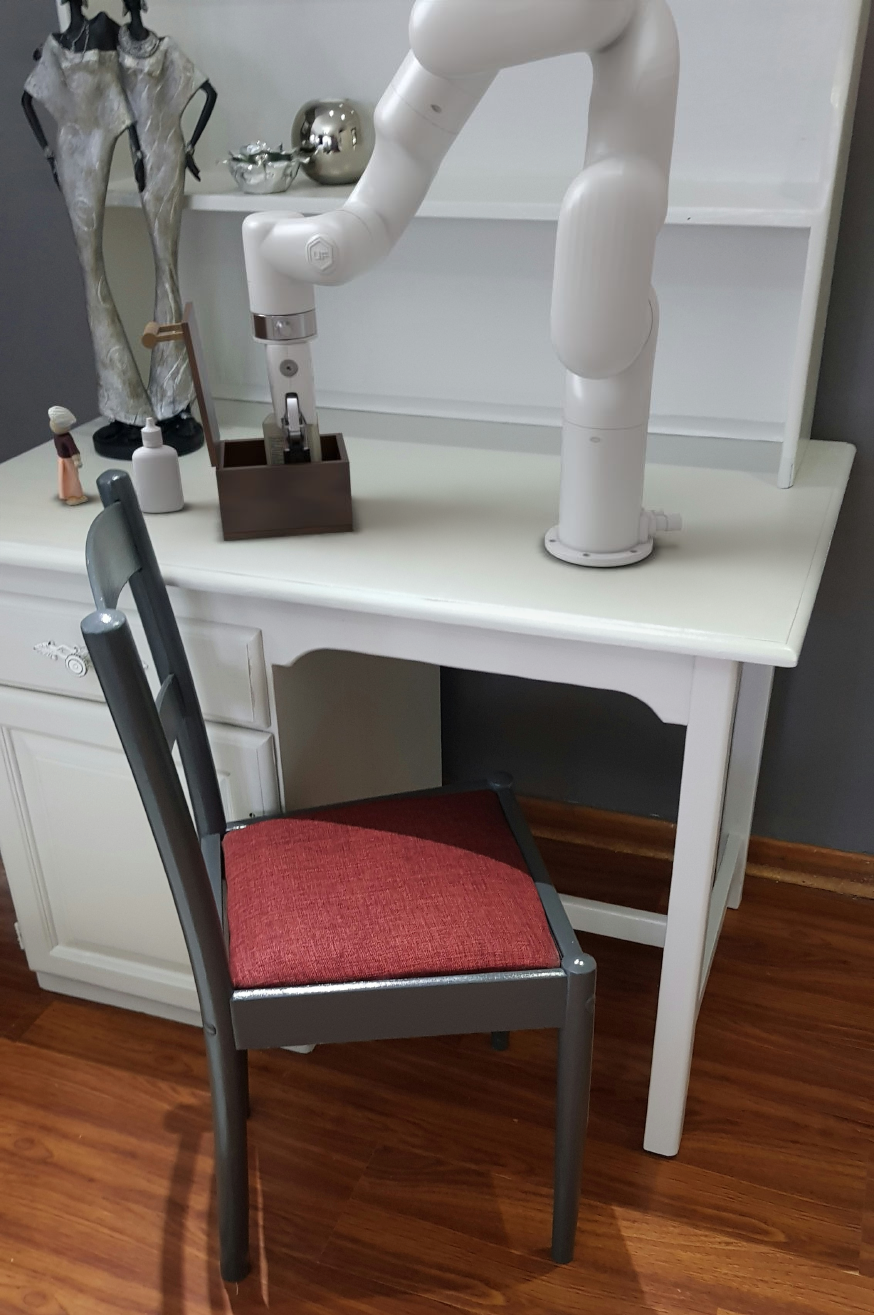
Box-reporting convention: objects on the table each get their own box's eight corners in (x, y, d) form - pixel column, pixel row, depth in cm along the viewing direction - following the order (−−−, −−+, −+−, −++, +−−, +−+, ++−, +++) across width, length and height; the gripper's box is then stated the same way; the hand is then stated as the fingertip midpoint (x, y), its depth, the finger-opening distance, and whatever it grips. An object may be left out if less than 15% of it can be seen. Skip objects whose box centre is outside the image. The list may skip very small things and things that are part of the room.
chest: (346, 498, 147) (342, 432, 143) (353, 531, 137) (349, 461, 133) (225, 506, 145) (217, 440, 141) (223, 540, 135) (215, 470, 131)
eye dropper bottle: (154, 500, 148) (141, 411, 142) (190, 505, 146) (178, 415, 140) (134, 511, 144) (120, 421, 138) (170, 517, 142) (157, 425, 136)
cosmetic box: (327, 505, 142) (320, 411, 136) (321, 517, 139) (314, 421, 133) (277, 504, 143) (268, 411, 137) (270, 517, 139) (261, 421, 133)
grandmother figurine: (46, 497, 149) (28, 404, 143) (72, 490, 152) (55, 398, 146) (77, 511, 145) (60, 415, 138) (103, 503, 147) (87, 408, 141)
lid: (192, 301, 132) (143, 308, 132) (187, 322, 122) (135, 329, 122) (220, 436, 141) (174, 443, 140) (218, 466, 130) (168, 473, 130)
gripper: (320, 339, 123) (332, 494, 131) (313, 309, 138) (324, 450, 146) (252, 343, 122) (269, 499, 130) (252, 312, 137) (267, 454, 145)
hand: (298, 472), depth 138 cm, fingers open, 5 cm apart
